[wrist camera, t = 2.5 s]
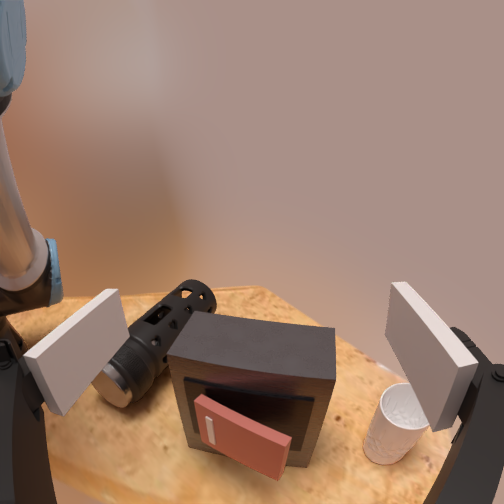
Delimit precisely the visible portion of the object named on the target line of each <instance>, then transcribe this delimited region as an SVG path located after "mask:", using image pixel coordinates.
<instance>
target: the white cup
mask: <svg viewBox="0 0 504 504" xmlns="http://www.w3.org/2000/svg"><path fill="white" fill-rule="evenodd" d="M429 426H430V425H429V422H428V420H427V418H426V416H425V414H424V412H423V409H422V407H421V405H420V403H419V401H418V399H417V397H416V395H415V393H414V390H413V388H412V386H411V384H410V383H398V384H394V385H392V386H390V387H388V388H387V389H386V390H385V391H384V392H383V394H382V395H381V398H380V401H379V403H378V406H377V408H376V411H375V413H374V416H373V418H372V421H371V424H370V426H369V428H368V431H367V434H366V437H365V439H364V444H363V449H364V452H365V455H366V456H367V457H368V458H369V459H370V460H371V461H372V462H375V463H378V464H381V465H388V464H393V463H395V462H397V461H399V460H401V459H402V457H403V456H404V455H405V454H406V453H407V452H408V451H409V450H410V449H411V448H412V447H413V446H414V444H415V443H416V442H417V441H418V440H419V439H420V438H421V436H422V435H423V434H424V432H425V431H426V430H427V429H428V427H429Z"/></svg>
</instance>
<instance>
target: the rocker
mask: <svg viewBox="0 0 504 504" xmlns="http://www.w3.org/2000/svg"><path fill="white" fill-rule="evenodd" d="M194 405H195V410H196V415H197V420H198V425H199V430H200V435H201V440H202V442H204V443H205V444H207V445H209V446H211V447H212V448H214V449H216V450H218V451H219V452H221V453H223V454H225V455H227V456H228V457H230V458H232V459H234V460H236V461H238V462H240V463H242V464H244V465H246V466H248V467H250V468H252V469H254V470H256V471H258V472H260V473H262V474H264V475H266V476H268V477H271V478H273V479H275V480H277V481H278V480H279V478H280V477H281V476H282V474H283V472H284V468H285V464H286V460H287V456H288V452H289V448H290V443H291V439H292V437H290V436H287V435H285V434H283V433H280V432H278V431H276V430H273V429H271V428H269V427H266V426H264V425H262V424H260V423H258V422H256V421H253V420H251V419H249V418H247V417H245V416H243V415H241V414H239V413H237V412H235V411H233V410H231V409H229V408H227V407H225V406H223V405H221V404H219V403H217V402H215V401H214V400H212V399H210V398H208V397H206V396H204V395H203V394H201V395H200V396H199V397H197V398H196V399H195V400H194Z"/></svg>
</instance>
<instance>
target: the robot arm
mask: <svg viewBox="0 0 504 504" xmlns="http://www.w3.org/2000/svg"><path fill="white" fill-rule="evenodd" d="M25 46H26V20H25V9H24V2H23V0H0V504H57V501H56V497H55V492H54V487H53V482H52V477H51V471H50V465H49V458H48V450H47V442H46V432H45V420H44V411H43V409H42V407H41V404H42V403H43V402H44V401H45V402H46V404H47V406H48V408H49V410H50V411H51V412H53V413H55V414H58V415H61V416H65V414H66V413H67V412H68V411H69V409H70V408H71V407H72V406H73V404H74V403H75V402H76V401H77V399H78V398H79V397H80V396H81V394H82V393H83V392H84V391H85V389H86V388H87V387H88V386H89V385H90V383H91V382H92V381H93V380H94V378H95V377H96V376H97V375H98V374H99V372H100V371H101V370H102V369H103V368H104V366H105V365H106V364H107V363H108V362H109V360H110V359H111V358H112V357H113V356H114V354H115V353H116V352H117V351H118V350H119V348H120V347H121V346H122V345H123V344H124V343H125V341H126V340H127V339H128V338H129V337H130V335H129V332H128V328H127V324H126V320H125V316H124V312H123V307H122V303H121V299H120V294H119V290H118V289H105V290H104V291H103V292H102V293H100V294H99V295H98V296H96V297H95V298H94V299H92V300H91V301H90V302H88V303H87V304H86V305H84V306H83V307H82V308H81V309H79V310H78V311H77V312H75V313H74V314H73V315H72V316H70V317H69V318H68V319H67V320H65V321H64V322H63V323H62V324H60V325H59V326H58V327H57V328H55V329H54V330H53V331H52V332H50V333H49V334H48V335H47V336H45V337H44V338H43V339H42V340H41V341H39V342H38V343H37V344H36V345H35V346H33V347H32V348H31V349H30V350H29V351H28V349H27V347H26V345H25V342H24V340H23V338H22V337H21V336H20V335H19V333H18V332H17V331H16V330H15V329H14V327H13V326H12V325H11V324H10V323H9V321H8V320H7V318H6V316H7V315H11V314H16V313H20V312H25V311H29V310H33V309H38V308H42V307H50V306H51V305H54V304H57V303H60V302H61V301H62V299H63V296H64V295H63V288H62V282H61V275H60V267H59V260H58V253H57V245H56V241H55V240H54V239H48V238H47V239H44V237H43V236H42V235H41V234H40V233H39V232H38V231H37V230H35V229H34V228H31V226H30V224H29V221H28V218H27V215H26V212H25V209H24V206H23V203H22V200H21V197H20V194H19V191H18V188H17V184H16V180H15V177H14V173H13V169H12V165H11V162H10V158H9V153H8V149H7V144H6V140H5V135H4V130H3V124H2V117H3V115H4V114H5V113H6V111H7V109H8V108H9V106H10V103H11V100H12V92H13V91H15V90H16V89H17V88H18V87H19V86H20V84H21V82H22V79H23V76H24V71H25V62H26V51H25ZM385 336H386V338H387V340H388V341H389V343H390V345H391V347H392V349H393V351H394V353H395V355H396V357H397V359H398V360H399V362H400V364H401V366H402V368H403V370H404V372H405V374H406V376H407V378H408V380H409V382H410V384H411V386H412V388H413V390H414V393H415V395H416V397H417V399H418V401H419V403H420V405H421V407H422V409H423V412H424V414H425V416H426V418H427V420H428V422H429V425H430V427H431V429H432V431H433V432H436V431H440V430H443V429H447V428H451V427H452V425H453V423H454V421H455V419H456V417H457V415H458V416H459V418H460V419H461V422H462V423H461V425H460V427H459V429H458V431H457V433H456V435H455V437H454V439H453V440H452V442H451V443H452V446H451V449H450V451H449V453H448V456H447V458H446V460H445V462H444V464H443V466H442V468H441V471H440V473H439V475H438V477H437V479H436V481H435V482H434V484H433V486H432V488H431V490H430V492H429V494H428V495H427V497H426V499H425V501H424V503H423V504H492V502H493V499H494V496H495V493H496V490H497V487H498V484H499V481H500V478H501V474H502V470H503V466H504V365H502V364H492V363H491V362H490V361H489V360H488V358H487V357H486V356H485V355H484V354H483V353H482V352H481V350H480V349H479V348H478V347H476V345H475V344H474V342H473V341H471V339H470V338H469V337H468V336H467V335H466V334H465V333H464V332H463V331H461V330H459V329H457V328H455V327H451V328H449V327H448V326H447V325H446V324H445V323H444V322H443V321H442V319H441V318H440V317H439V316H438V315H437V314H436V313H435V312H434V311H433V310H432V309H431V307H430V306H429V305H428V304H427V303H426V302H425V301H424V300H423V299H422V298H421V297H420V296H419V295H418V294H417V293H416V291H414V289H413V288H412V287H411V286H410V285H409V284H408V283H407V282H393V283H391V290H390V299H389V308H388V316H387V324H386V331H385Z"/></svg>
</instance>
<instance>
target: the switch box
mask: <svg viewBox="0 0 504 504" xmlns="http://www.w3.org/2000/svg"><path fill="white" fill-rule="evenodd" d="M166 355H167V360H168V364H169V369H170V374H171V378H172V383H173V387H174V392H175V396H176V400H177V404H178V408H179V412H180V416H181V420H182V424H183V428H184V431H185V435H186V439H187V442H188V446H189V447H191V448H195V449H199V450H203V451H207V452H211V453H215V454H220V455H224V456H227V455H225V454H223V453H221V452H219V451H218V450H216V449H214V448H212V447H211V446H209V445H207V444H205V443H204V442H202V440H201V435H200V430H199V425H198V420H197V415H196V410H195V405H194V400H195V399H196V398H197V397H199V396H200V395H201V394H203V395H204V396H206V397H208V398H210V399H212V400H214V401H215V402H217V403H219V404H221V405H223V406H225V407H227V408H229V409H231V410H233V411H235V412H237V413H239V414H241V415H243V416H245V417H247V418H249V419H251V420H253V421H256V422H258V423H260V424H262V425H264V426H266V427H269V428H271V429H273V430H276V431H278V432H280V433H283V434H285V435H287V436H290V437H292V439H291V443H290V448H289V452H288V456H287V460H286V464H285V466H294V467H305V468H307V466H308V464H309V461H310V458H311V456H312V453H313V450H314V447H315V445H316V442H317V439H318V436H319V433H320V430H321V427H322V424H323V421H324V418H325V415H326V412H327V409H328V405H329V402H330V399H331V395H332V392H333V389H334V385H335V382H336V346H335V328H328V327H317V326H307V325H297V324H288V323H279V322H271V321H263V320H255V319H247V318H240V317H233V316H226V315H219V314H212V313H206V312H200V311H194V313H193V314H192V316H191V317H190V319H189V320H188V322H187V323H186V325H185V326H184V328H183V329H182V331H181V332H180V334H179V335H178V337H177V338H176V340H175V341H174V343H173V344H172V346H171V347H170V349H169V350H168V352H167V354H166Z"/></svg>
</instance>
